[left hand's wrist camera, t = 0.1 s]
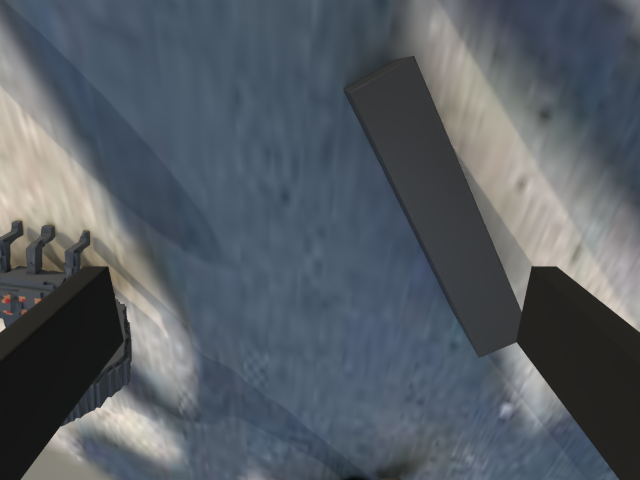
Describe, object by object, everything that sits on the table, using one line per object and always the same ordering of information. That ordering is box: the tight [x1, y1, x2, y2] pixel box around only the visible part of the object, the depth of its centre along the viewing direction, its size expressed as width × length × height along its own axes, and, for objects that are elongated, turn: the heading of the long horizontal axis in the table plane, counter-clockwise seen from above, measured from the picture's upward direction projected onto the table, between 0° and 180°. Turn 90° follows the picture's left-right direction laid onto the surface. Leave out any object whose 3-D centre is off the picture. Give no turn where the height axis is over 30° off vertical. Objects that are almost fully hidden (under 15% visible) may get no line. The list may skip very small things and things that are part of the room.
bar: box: [344, 56, 522, 357], centre depth 37 cm, size 26×5×8 cm, turn 29°
